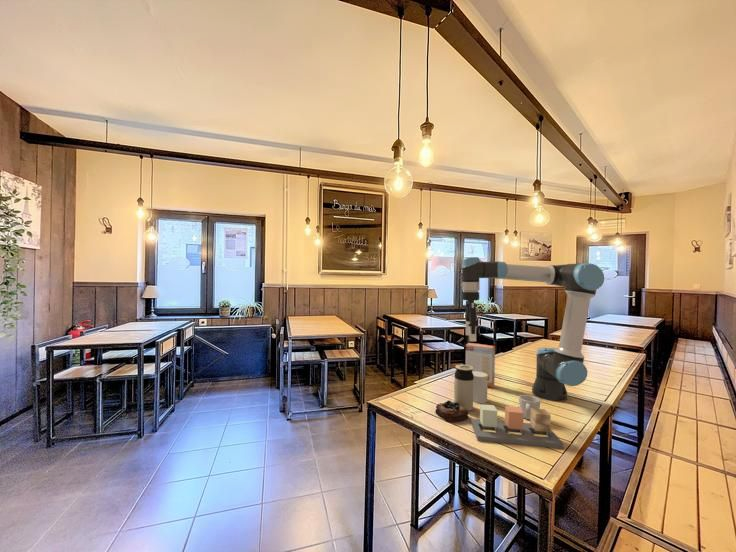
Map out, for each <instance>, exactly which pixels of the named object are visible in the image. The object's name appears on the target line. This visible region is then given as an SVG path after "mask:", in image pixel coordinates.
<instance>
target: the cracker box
mask: <svg viewBox="0 0 736 552" xmlns="http://www.w3.org/2000/svg"><path fill="white" fill-rule="evenodd" d="M495 356H496V346H494V345H488V344H481V343H474V342H468V343H466V344H465V365H469V366H472V367H473V370H472V372H473V371H477V372H483V373H486V374H487V375H488V381H487V388H493V387H494V386H495V378H496V377H495V369H496V366H495V364H496V363H495V361H496V360H495V359H496V357H495Z"/></svg>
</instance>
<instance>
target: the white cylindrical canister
mask: <svg viewBox="0 0 736 552" xmlns="http://www.w3.org/2000/svg"><path fill="white" fill-rule="evenodd" d="M472 373H473V375H474V383H473V403H476V404H485V403H487V402H488V387H487V381H488V375H487V374H486V373H483V372H477V371H473V372H472Z"/></svg>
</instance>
